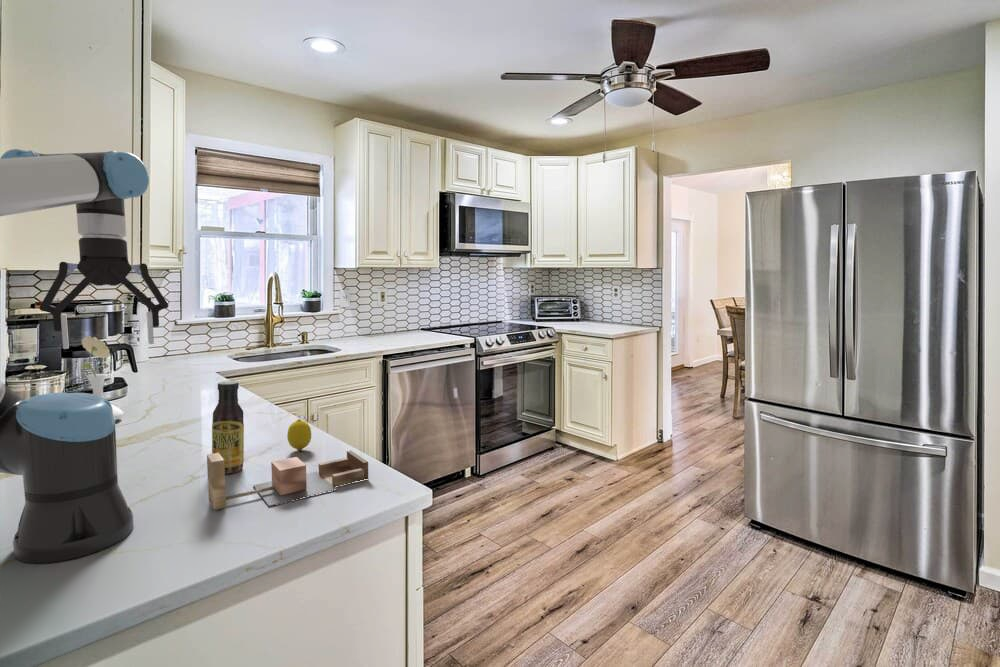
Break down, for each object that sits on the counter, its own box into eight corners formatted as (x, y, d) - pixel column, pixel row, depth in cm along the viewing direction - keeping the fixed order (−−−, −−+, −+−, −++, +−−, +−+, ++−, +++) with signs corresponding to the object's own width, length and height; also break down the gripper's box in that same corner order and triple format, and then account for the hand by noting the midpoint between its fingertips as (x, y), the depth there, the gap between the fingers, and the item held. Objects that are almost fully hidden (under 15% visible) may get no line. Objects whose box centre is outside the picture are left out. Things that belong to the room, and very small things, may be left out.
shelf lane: (348, 465, 120) (348, 448, 119) (371, 482, 110) (370, 463, 110) (253, 486, 107) (252, 467, 107) (269, 507, 98) (268, 486, 97)
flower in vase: (131, 420, 154) (126, 336, 151) (84, 430, 144) (78, 340, 141) (111, 414, 160) (106, 333, 158) (65, 422, 151) (59, 336, 148)
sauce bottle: (209, 477, 112) (204, 385, 110) (216, 466, 118) (212, 380, 116) (242, 474, 114) (239, 384, 112) (248, 464, 120) (244, 379, 118)
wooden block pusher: (297, 479, 110) (296, 438, 109) (306, 489, 105) (305, 445, 104) (208, 499, 100) (206, 453, 99) (214, 511, 95) (212, 463, 94)
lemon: (304, 445, 133) (303, 415, 132) (316, 450, 130) (315, 419, 129) (283, 451, 129) (282, 419, 128) (295, 456, 126) (294, 423, 125)
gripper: (175, 241, 113) (180, 339, 115) (18, 234, 97) (28, 347, 100) (180, 240, 107) (185, 343, 109) (14, 232, 91) (24, 352, 94)
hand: (110, 345), depth 104 cm, fingers open, 13 cm apart
